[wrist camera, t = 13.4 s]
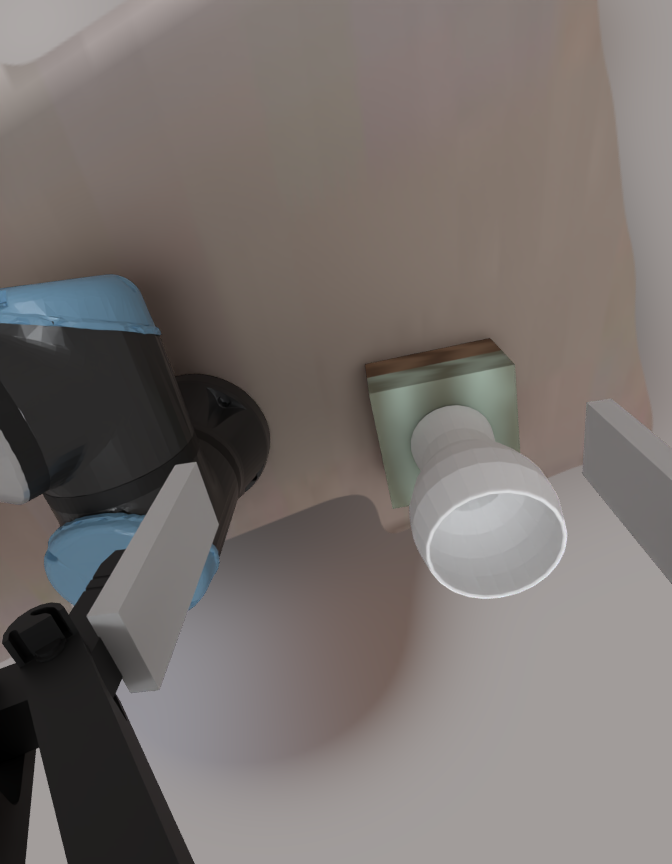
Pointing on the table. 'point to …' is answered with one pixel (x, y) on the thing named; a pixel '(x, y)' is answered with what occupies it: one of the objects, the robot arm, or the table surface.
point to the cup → (481, 508)
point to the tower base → (438, 401)
